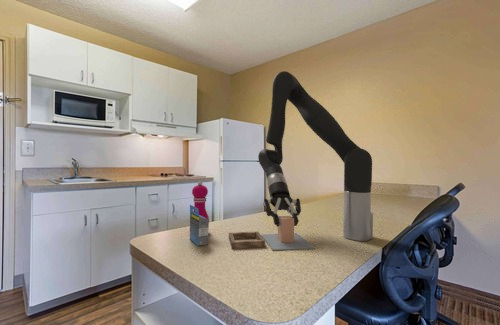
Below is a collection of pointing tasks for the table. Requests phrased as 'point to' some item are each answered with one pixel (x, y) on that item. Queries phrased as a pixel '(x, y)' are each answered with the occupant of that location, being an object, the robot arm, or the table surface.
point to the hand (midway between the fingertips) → (287, 224)
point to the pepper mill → (200, 199)
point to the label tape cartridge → (198, 227)
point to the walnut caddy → (246, 244)
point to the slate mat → (286, 243)
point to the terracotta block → (286, 229)
